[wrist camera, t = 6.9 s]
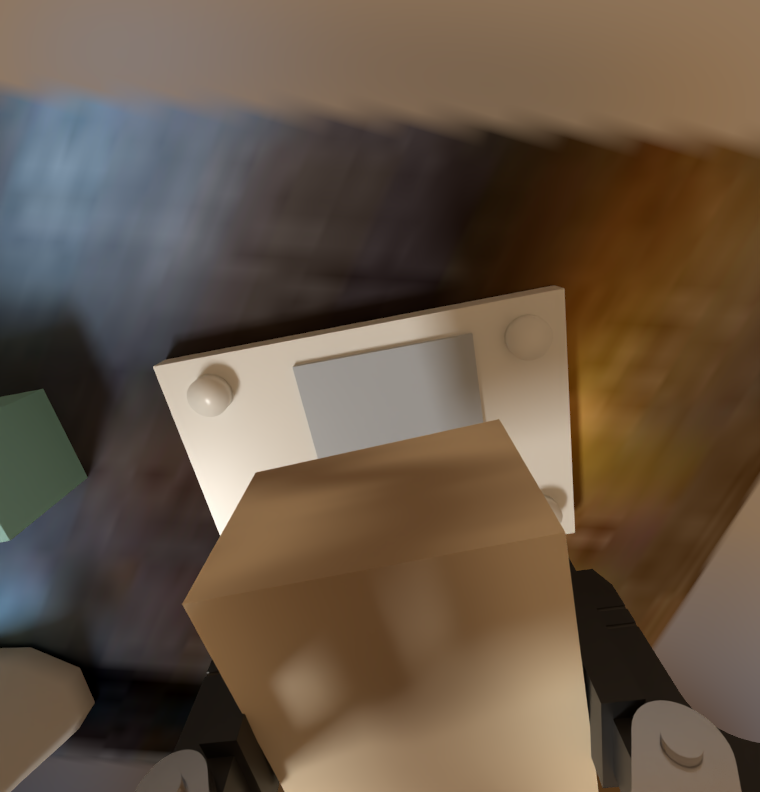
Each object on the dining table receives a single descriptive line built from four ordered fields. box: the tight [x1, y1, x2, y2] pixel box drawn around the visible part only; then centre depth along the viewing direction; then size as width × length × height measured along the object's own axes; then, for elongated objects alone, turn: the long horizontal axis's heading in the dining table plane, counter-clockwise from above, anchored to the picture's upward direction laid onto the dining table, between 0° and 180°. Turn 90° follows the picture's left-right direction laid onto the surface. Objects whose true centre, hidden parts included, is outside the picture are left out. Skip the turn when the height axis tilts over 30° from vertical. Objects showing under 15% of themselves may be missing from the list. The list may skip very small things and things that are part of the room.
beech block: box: [182, 419, 598, 792], centre depth 10 cm, size 6×8×4 cm
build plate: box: [153, 285, 575, 536], centre depth 18 cm, size 16×11×2 cm
